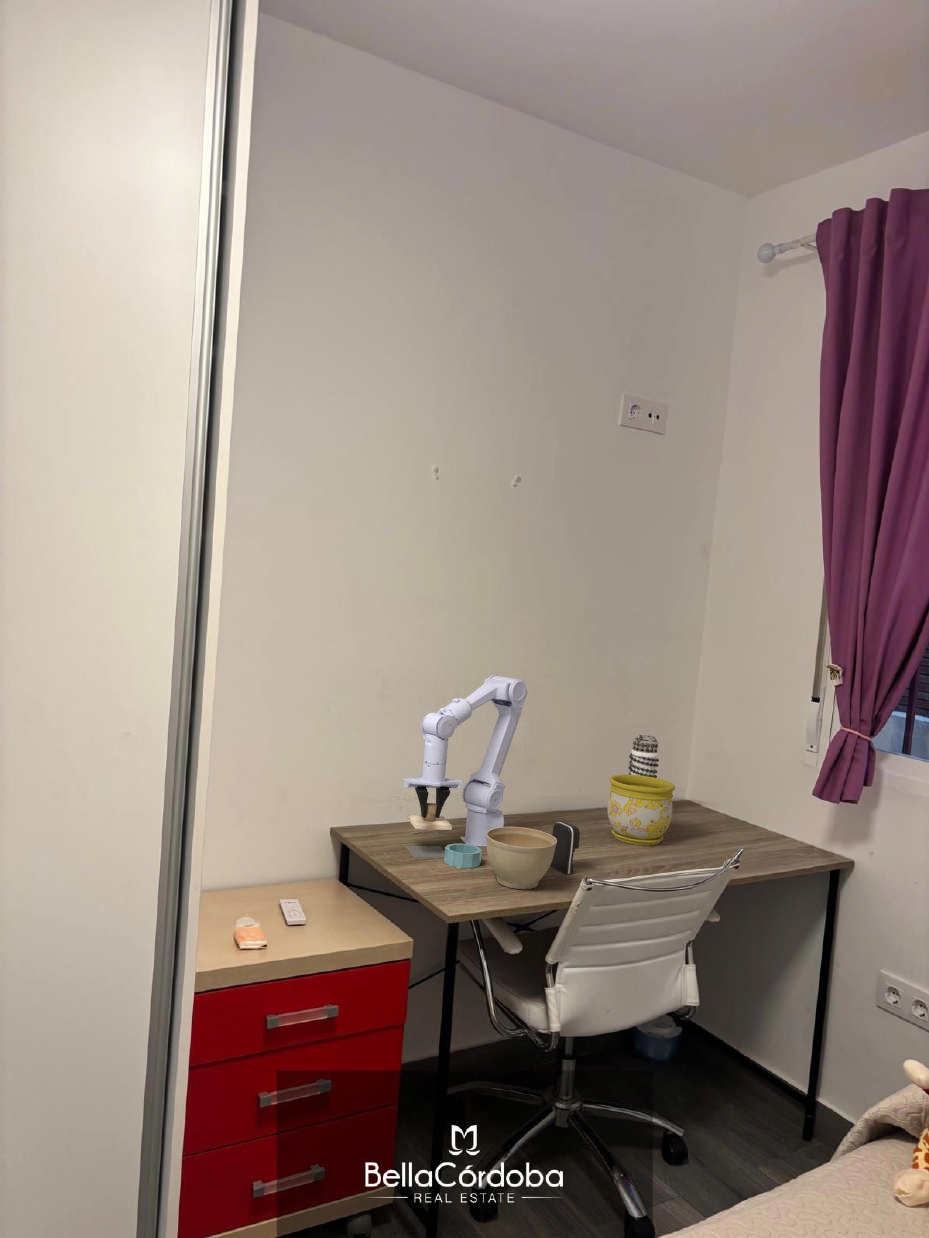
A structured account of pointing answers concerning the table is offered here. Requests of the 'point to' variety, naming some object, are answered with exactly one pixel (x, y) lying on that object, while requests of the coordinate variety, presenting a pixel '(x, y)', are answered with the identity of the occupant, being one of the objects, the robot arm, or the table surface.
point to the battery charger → (565, 846)
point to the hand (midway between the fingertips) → (430, 816)
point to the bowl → (462, 856)
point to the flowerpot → (639, 808)
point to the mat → (426, 851)
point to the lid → (430, 820)
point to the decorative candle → (644, 756)
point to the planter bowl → (519, 855)
